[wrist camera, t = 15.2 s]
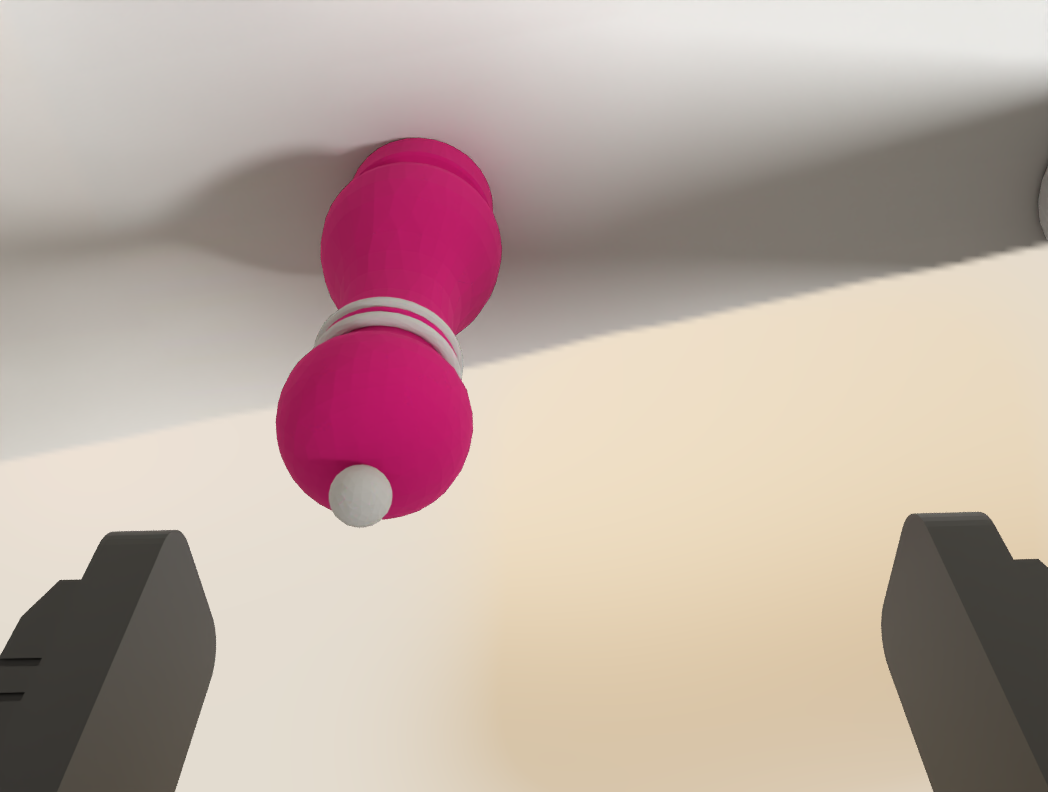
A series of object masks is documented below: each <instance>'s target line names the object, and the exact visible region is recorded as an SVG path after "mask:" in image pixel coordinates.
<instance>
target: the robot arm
mask: <svg viewBox="0 0 1048 792" xmlns="http://www.w3.org/2000/svg"><path fill="white" fill-rule="evenodd" d="M1038 206H1039V219H1040V223H1041V226H1042V229H1043V232H1044V234H1045V237H1046V239H1047V240H1048V167H1047V169H1046V172H1045V174H1044V177H1043V179H1042V183H1041V188H1040V194H1039V200H1038ZM881 627H882V628H881V629H882V641H883V648H884V653H885V657H886V661H887V664H888V667H889V670H890V673H891V676H892V678H893V681H894V684H895V686H896V689H897V692H898V695H899V698H900V701H901V703H902V706H903V709H904V712H905V714H906V717H907V720H908V723H909V725H910V728H911V731H912V734H913V736H914V739H915V742H916V745H917V747H918V750H919V753H920V756H921V758H922V761H923V764H924V766H925V770H926V772H927V775H928V778H929V781H930V783H931V786H932V789H933V791H934V792H1048V567H1046V566H1045V565H1044V564H1043V563H1042V562H1041V561H1040V560H1039V559H1020V560H1013V558H1012V556H1011V554H1010V553H1009V551H1008V549H1007V547H1006V545H1005V543H1004V542H1003V540H1002V538H1001V536H1000V534H999V532H998V531H997V529H996V527H995V525H994V524H993V522H992V521H991V519H990V518H989V517H988V516H987V515H986V514H984V513H982V512H962V513H961V512H959V513H921V514H911V515H909V516H908V517H907V519H906V521H905V522H904V526H903V529H902V532H901V536H900V541H899V544H898V548H897V552H896V557H895V560H894V564H893V568H892V572H891V576H890V580H889V584H888V588H887V592H886V596H885V600H884V604H883V609H882V622H881ZM215 654H216V635H215V627H214V622H213V618H212V615H211V612H210V609H209V605H208V602H207V599H206V597H205V593H204V590H203V587H202V584H201V581H200V578H199V575H198V572H197V569H196V566H195V563H194V560H193V557H192V554H191V551H190V548H189V545H188V543H187V540H186V538H185V537H184V535H183V534H182V533H181V532H180V531H178V530H161V531H124V532H123V531H121V532H110V533H108V534H107V535H105V537H104V538H103V539H102V540H101V542H100V544H99V545H98V547H97V550H96V551H95V553H94V555H93V558H92V559H91V562H90V563H89V565H88V567H87V569H86V571H85V573H84V575H83V577H82V579H81V580H59V581H58V582H57V583H56V584H55V585H54V586H53V587H52V588H51V589H50V590H49V591H48V592H47V593H46V594H45V595H44V596H43V597H42V598H41V599H40V600H38V601H37V602H36V604H34V605H33V606H32V607H31V608H30V609H29V610H28V611H27V612H26V613H25V614H24V615H23V616H22V617H21V619H20V620H19V622H18V624H17V626H16V628H15V630H14V631H13V633H12V635H11V637H10V639H9V641H8V642H7V644H6V646H5V648H4V650H3V652H2V653H1V655H0V792H175V789H176V786H177V783H178V780H179V777H180V773H181V771H182V767H183V764H184V761H185V758H186V755H187V752H188V749H189V746H190V743H191V739H192V736H193V733H194V730H195V727H196V724H197V721H198V718H199V715H200V711H201V708H202V705H203V702H204V699H205V696H206V693H207V690H208V687H209V683H210V680H211V677H212V673H213V668H214V662H215Z"/></svg>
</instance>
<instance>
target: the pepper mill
mask: <svg viewBox="0 0 1048 792" xmlns="http://www.w3.org/2000/svg"><path fill="white" fill-rule="evenodd" d="M501 254H502V245H501V237H500V232H499V228H498V225H497V222H496V220H495V217H494V214H493V203H492V195H491V192H490V188H489V185H488V183H487V181H486V179H485V177H484V175H483V174H482V172H481V170H480V169H479V168H478V167H477V165H476V164H475V163H474V162H473V161H472V160H471V159H470V158H469V157H468V156H466V155H465V154H464V153H463V152H461V151H460V150H458V149H456V148H454V147H452V146H450V145H448V144H446V143H443V142H440V141H436V140H432V139H424V138H407V139H402V140H398V141H394V142H390V143H388V144H386V145H384V146H382V147H380V148H378V149H377V150H376V151H375V152H373V153H372V154H371V155H370V156H368V157H367V158H366V160H365V161H364V162H363V163H362V164H361V166H360V167H359V168H358V170H357V172H356V174H355V176H354V178H353V180H352V181H351V182H350V183H349V184H348V185H347V186H346V187H345V188H344V189H343V190H342V191H341V192H340V193H339V195H338V196H337V197H336V199H335V200H334V202H333V203H332V205H331V207H330V209H329V212H328V214H327V216H326V219H325V224H324V228H323V234H322V239H321V263H322V268H323V273H324V278H325V282H326V285H327V288H328V291H329V293H330V296H331V298H332V300H333V301H334V303H335V305H336V307H337V308H338V311H336V312H335V313H334V314H333V315H331V316H330V317H329V318H328V319H327V321H326V322H325V323H324V325H323V326H322V328H321V330H320V331H319V333H318V336H317V338H316V341H315V346H314V348H313V350H311V351H310V352H309V353H308V354H307V355H305V356H304V357H303V358H302V359H301V360H300V361H299V362H298V363H297V365H296V366H295V367H294V369H293V370H292V372H291V373H290V375H289V377H288V379H287V381H286V383H285V385H284V387H283V389H282V392H281V395H280V399H279V402H278V409H277V416H276V432H277V440H278V446H279V450H280V453H281V457H282V459H283V461H284V463H285V465H286V467H287V469H288V471H289V473H290V475H291V476H292V478H293V480H294V481H295V482H296V483H297V484H298V485H299V487H300V488H301V489H302V490H303V491H304V492H305V493H306V494H307V495H308V496H310V497H311V498H312V499H314V500H315V501H316V502H318V503H319V504H320V505H322V506H324V507H326V508H328V509H330V510H332V511H333V513H334V514H335V516H336V517H337V518H338V519H339V520H341V521H342V522H344V523H345V524H346V525H349V526H353V527H367V526H371V525H374V524H375V523H377V522H379V521H380V520H381V519H390V518H396V517H401V516H405V515H408V514H411V513H414V512H417V511H419V510H421V509H422V508H424V507H426V506H428V505H429V504H431V503H433V502H434V501H435V500H437V499H438V498H439V497H440V496H441V495H442V494H444V493H445V492H446V490H447V489H448V488H449V486H450V485H451V484H452V482H453V481H454V480H455V478H456V477H457V476H458V474H459V473H460V471H461V469H462V467H463V465H464V462H465V460H466V457H467V455H468V452H469V448H470V443H471V438H472V433H473V420H472V419H473V418H472V410H471V406H470V401H469V397H468V393H467V389H466V388H465V386H464V384H463V383H462V381H461V380H462V372H463V356H462V352H461V348H460V345H459V343H458V341H457V338H456V335H457V334H458V333H459V332H461V331H462V330H463V329H464V328H466V327H467V326H468V325H469V324H470V323H471V322H472V321H473V320H474V319H475V318H476V317H477V315H478V314H479V313H480V311H481V310H482V308H483V307H484V305H485V304H486V302H487V301H488V299H489V298H490V296H491V294H492V291H493V289H494V286H495V284H496V281H497V277H498V272H499V268H500V264H501Z"/></svg>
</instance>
